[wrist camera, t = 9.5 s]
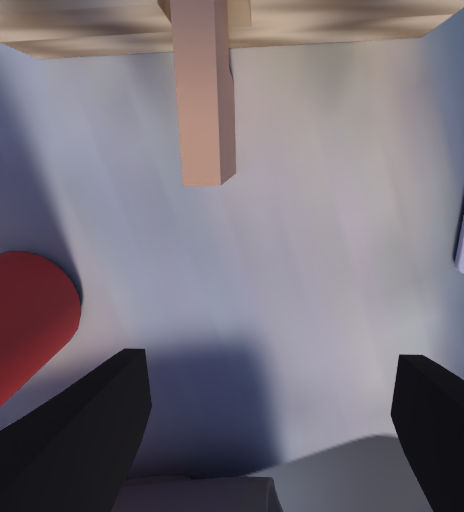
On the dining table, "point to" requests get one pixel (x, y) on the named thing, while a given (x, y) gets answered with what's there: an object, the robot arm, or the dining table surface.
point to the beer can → (32, 316)
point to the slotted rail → (239, 24)
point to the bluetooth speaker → (197, 494)
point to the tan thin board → (204, 91)
